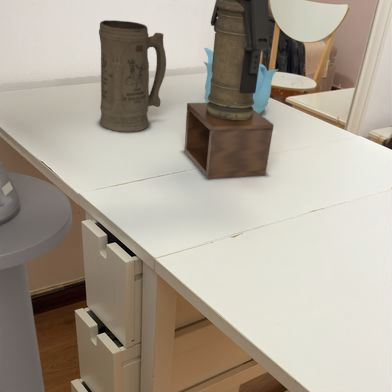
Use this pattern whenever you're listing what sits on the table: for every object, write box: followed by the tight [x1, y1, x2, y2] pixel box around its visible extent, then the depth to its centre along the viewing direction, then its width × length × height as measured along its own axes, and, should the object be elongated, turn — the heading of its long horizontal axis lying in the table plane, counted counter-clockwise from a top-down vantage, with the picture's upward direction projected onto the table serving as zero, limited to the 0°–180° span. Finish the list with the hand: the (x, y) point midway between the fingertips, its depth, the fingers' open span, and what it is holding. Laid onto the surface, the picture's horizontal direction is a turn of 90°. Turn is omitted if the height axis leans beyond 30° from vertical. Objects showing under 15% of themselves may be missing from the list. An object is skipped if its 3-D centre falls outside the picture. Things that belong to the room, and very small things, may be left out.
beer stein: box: [98, 19, 167, 133], centre depth 114 cm, size 15×11×20 cm
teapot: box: [203, 47, 279, 115], centre depth 131 cm, size 17×19×12 cm
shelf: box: [184, 102, 275, 180], centre depth 103 cm, size 12×14×10 cm
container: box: [206, 0, 254, 121], centre depth 94 cm, size 9×9×18 cm
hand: (232, 82), depth 96 cm, fingers open, 13 cm apart
